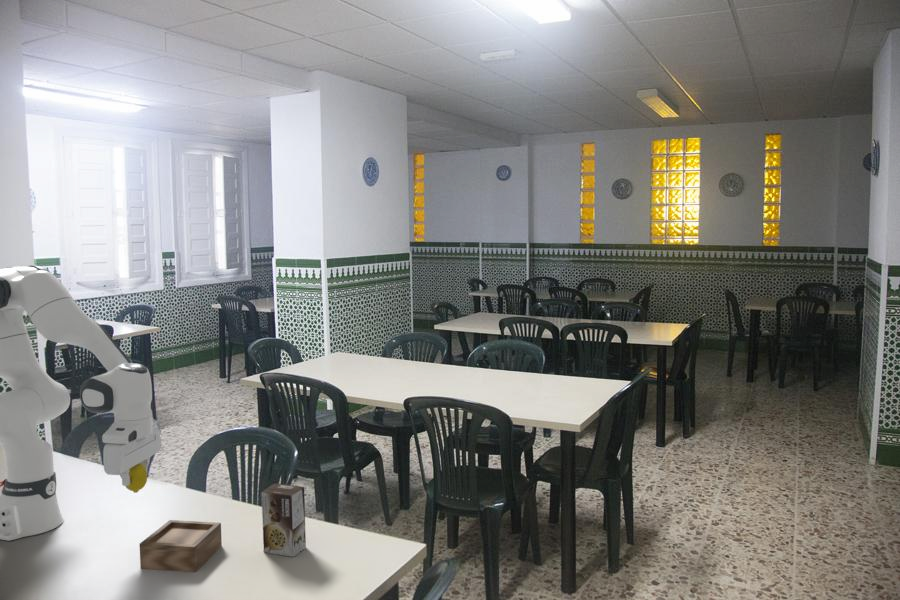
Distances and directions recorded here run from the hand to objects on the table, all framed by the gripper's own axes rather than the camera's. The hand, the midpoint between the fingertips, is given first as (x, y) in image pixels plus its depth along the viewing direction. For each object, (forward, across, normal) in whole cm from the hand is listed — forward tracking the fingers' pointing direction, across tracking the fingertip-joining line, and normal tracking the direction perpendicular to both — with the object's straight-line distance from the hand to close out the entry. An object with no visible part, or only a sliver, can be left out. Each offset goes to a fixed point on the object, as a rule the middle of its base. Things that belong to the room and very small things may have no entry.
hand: (135, 479), depth 178 cm
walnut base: (+17, +4, +15) cm, 23 cm away
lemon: (+4, 0, 0) cm, 4 cm away
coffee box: (+17, -3, +39) cm, 42 cm away
